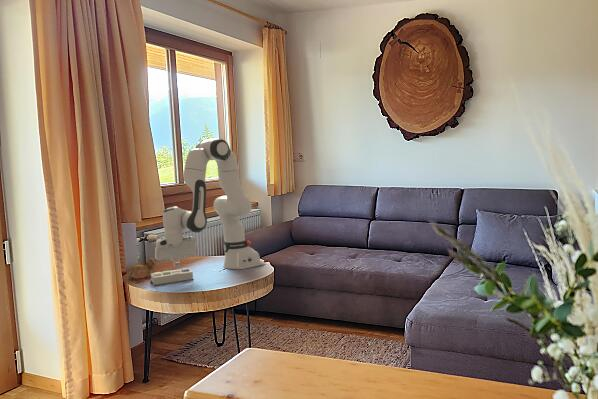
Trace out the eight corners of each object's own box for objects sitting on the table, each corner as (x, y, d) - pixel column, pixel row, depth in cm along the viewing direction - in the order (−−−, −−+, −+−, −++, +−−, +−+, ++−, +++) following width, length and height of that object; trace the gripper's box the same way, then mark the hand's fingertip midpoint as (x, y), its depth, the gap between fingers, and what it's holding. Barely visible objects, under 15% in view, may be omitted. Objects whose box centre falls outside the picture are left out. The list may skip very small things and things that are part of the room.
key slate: (187, 273, 263) (187, 267, 263) (189, 274, 260) (188, 268, 260) (181, 274, 262) (181, 268, 262) (183, 275, 259) (182, 269, 259)
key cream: (160, 277, 258) (160, 271, 257) (161, 278, 255) (161, 273, 254) (154, 278, 256) (153, 272, 256) (155, 279, 253) (154, 274, 253)
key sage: (169, 276, 259) (169, 270, 259) (171, 277, 257) (170, 271, 256) (163, 277, 258) (162, 271, 258) (164, 278, 255) (164, 272, 255)
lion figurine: (155, 273, 276) (154, 257, 275) (157, 275, 272) (156, 258, 271) (127, 278, 269) (125, 261, 268) (129, 280, 265) (127, 263, 264)
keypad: (188, 275, 268) (187, 267, 267) (193, 280, 257) (192, 272, 256) (151, 280, 260) (150, 273, 260) (154, 286, 249) (154, 278, 249)
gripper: (193, 235, 265) (196, 261, 266) (152, 241, 256) (155, 268, 258) (195, 236, 259) (198, 263, 261) (154, 243, 251) (157, 270, 252)
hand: (177, 265), depth 259 cm, fingers closed
